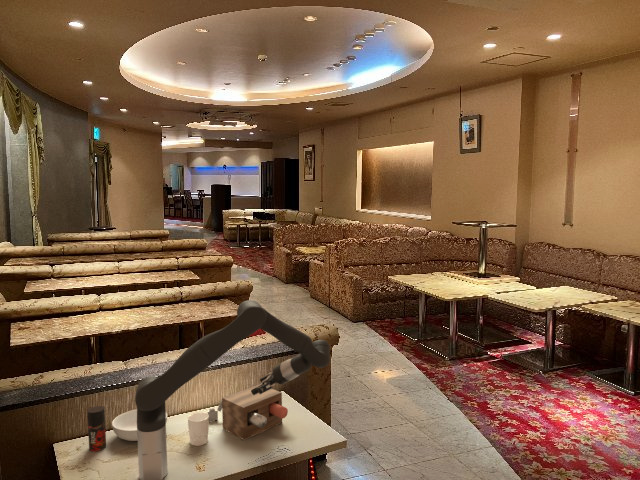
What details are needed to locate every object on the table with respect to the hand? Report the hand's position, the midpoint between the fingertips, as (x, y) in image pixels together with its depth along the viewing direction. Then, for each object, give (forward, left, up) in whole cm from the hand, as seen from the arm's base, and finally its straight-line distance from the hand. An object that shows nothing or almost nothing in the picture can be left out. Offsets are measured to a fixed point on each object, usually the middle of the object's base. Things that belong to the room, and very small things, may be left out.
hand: (256, 386), depth 196 cm
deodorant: (+5, +60, -19) cm, 63 cm away
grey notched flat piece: (+15, +15, -19) cm, 28 cm away
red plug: (+1, -8, -13) cm, 15 cm away
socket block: (+5, +1, -18) cm, 19 cm away
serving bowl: (+11, +45, -19) cm, 50 cm away
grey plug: (-4, +2, -13) cm, 14 cm away
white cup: (-2, +23, -19) cm, 30 cm away
